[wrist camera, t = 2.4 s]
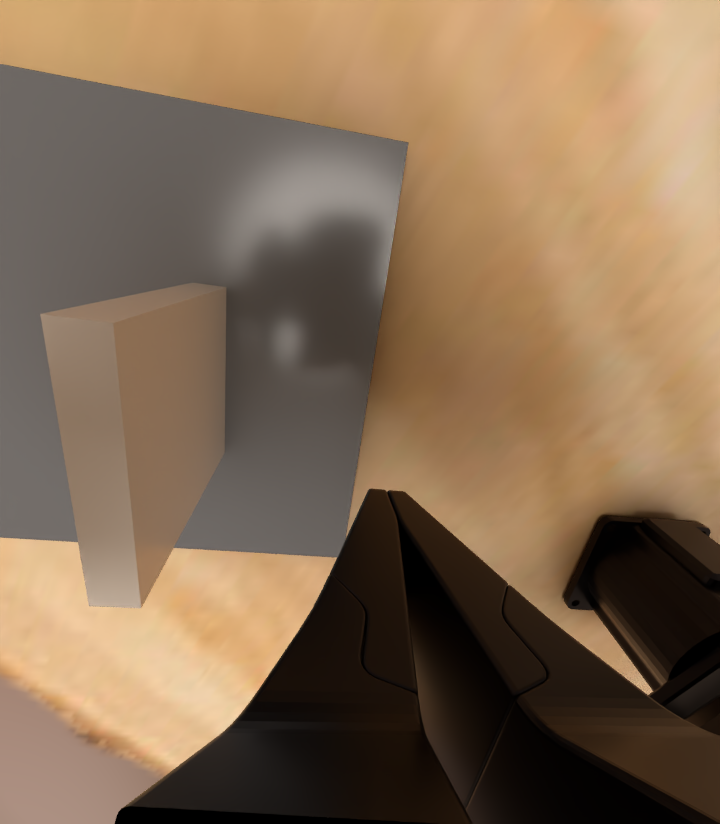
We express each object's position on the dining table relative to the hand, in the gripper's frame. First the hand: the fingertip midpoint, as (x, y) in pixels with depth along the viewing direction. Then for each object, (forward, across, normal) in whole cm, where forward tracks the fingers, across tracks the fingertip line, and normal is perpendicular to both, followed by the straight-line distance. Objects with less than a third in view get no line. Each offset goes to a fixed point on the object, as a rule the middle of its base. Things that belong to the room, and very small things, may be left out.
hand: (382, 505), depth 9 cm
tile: (+8, +6, 0) cm, 10 cm away
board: (+9, +8, 0) cm, 12 cm away
